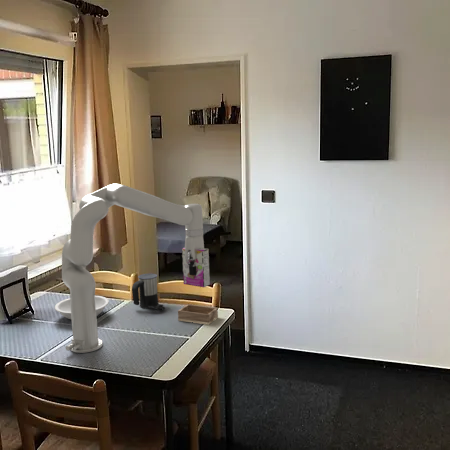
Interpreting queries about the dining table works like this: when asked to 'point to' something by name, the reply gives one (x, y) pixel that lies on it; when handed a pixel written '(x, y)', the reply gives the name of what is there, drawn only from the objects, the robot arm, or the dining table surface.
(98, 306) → the soup bowl
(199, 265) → the candy bar box
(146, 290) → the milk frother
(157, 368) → the dining table surface
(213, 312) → the open wooden box
